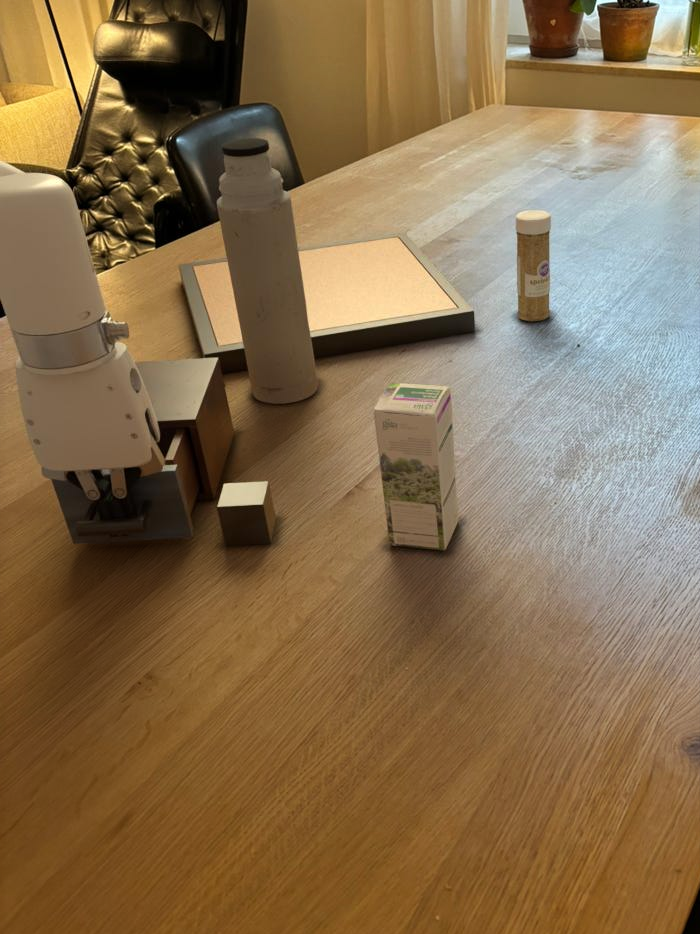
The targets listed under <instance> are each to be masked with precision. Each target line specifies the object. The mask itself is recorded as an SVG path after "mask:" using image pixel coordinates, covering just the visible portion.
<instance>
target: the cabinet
mask: <svg viewBox="0 0 700 934" xmlns="http://www.w3.org/2000/svg"><path fill="white" fill-rule="evenodd" d="M134 362H135V364H136V366H137V368H138V371H139V373H140V375H141V378H142V380H143V383H144V385H145V388H146V390H147V393H148V396H149V399H150V401H151V404H152V407H153V410H154V413H155V416H156V419H157V423H158V427H159V428H176V427H189V429H190V433H191V437H192V441H193V445H194V450H195V454H196V458H197V462H198V466H199V471H200V475H201V479H202V482H201V485H200V488H199V491H198V494H197V497H196V500H195V501H210V500H211V501H212V500H215V498H216V494H217V491H218V487H219V484H220V481H221V478H222V475H223V471H224V468H225V465H226V461H227V459H228V455H229V452H230V448H231V445H232V442H233V439H234V435H235V429H234V425H233V419H232V415H231V414H232V413H231V410H230V406H229V401H228V395H227V391H226V386H225V381H224V376H223V374H222V371H221V367H220V362H219V358H218V357H217V358H203V357H202V358H200V357H199V358H184V359H183V358H182V359H164V360H148V361H147V360H146V361H134ZM147 420H148V419H147Z"/></svg>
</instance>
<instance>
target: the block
mask: <svg viewBox="0 0 700 934" xmlns="http://www.w3.org/2000/svg"><path fill="white" fill-rule="evenodd" d="M271 490H272V489H271V485H270V482H269V481H268V480H264V481H263V480H262V481H245V482H228V483H226V482H225V483H223V484H222V488H221V492H220V495H219V497H218V502H217V505H216V512H217V517H218V519H219V520H218V521H219V525H220V528H221V533H222V537H223V540H224V546H225V547H236V546H250V545H252V546H254V545H268V544H269V545H270V544H272V541H273V536H274V530H275V526H276V522H277V521H276V520H277V516H276V512H275V506H274V501H273V495H272V491H271Z"/></svg>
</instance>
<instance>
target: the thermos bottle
mask: <svg viewBox="0 0 700 934" xmlns="http://www.w3.org/2000/svg"><path fill="white" fill-rule="evenodd" d="M269 150H270V144H269V141H268V140H267V139H265V138H258V137H244V138H237V139H232V140H229V141H226V142H224V143H222V144H221V151H222V154H223V157H224V158H223V164H224V170H225V172H223V174H222V175H220V176H219V178H218V182H219V187H218V190H219V192H220V194H221V196H220V197H218V198H217V200H216V208H217V214H218V219H219V225H220V229H221V234H222V238H223V246H224V250H225V255H226V258H227V261H228V266H229V272H230V277H231V282H232V287H233V293H234V298H235V303H236V308H237V314H238V319H239V324H240V330H241V335H242V340H243V345H244V351H245V356H246V361H247V366H248V370H247V372H248V377H249V382H250V387H251V391H252V395H253V397H254V398H255V399H256V400H257V401H260V402H263V403H266V404H271V405H273V404H274V405H275V404H276V405H282V404H283V405H285V404H291V403H296V402H299V401H300V402H301V401H302V400H305V399H308V398H309V397H311V396H313V395H314V394H315V393H316V392H317V390H318V387H319V382H318V376H317V368H316V362H315V361H316V360H315V358H314V354H313V348H312V341H311V335H310V329H309V323H308V316H307V308H306V300H305V293H304V286H303V279H302V272H301V265H300V259H299V252H298V248H299V246H298V237H297V232H296V225H295V224H296V223H295V218H294V212H293V211H294V210H293V206H292V204H293V203H292V198H291V194H290V193H289V192H288V191H286V190H284V188H283V183H284V179H283V178H282V175H281V173H280V172H279V170H278V169H275V168H273V167H272V163H271V157H270V154H269V152H268V151H269Z"/></svg>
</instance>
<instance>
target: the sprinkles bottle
mask: <svg viewBox="0 0 700 934" xmlns="http://www.w3.org/2000/svg"><path fill="white" fill-rule="evenodd" d="M551 228H552V217H551V213H549V212H548V211H545V210H539V209H538V210H536V209H535V210H534V209H533V210H532V209H531V210H524V211H521V212H519V213H517V214H516V215H515V234H516V251H517V252H516V291H517V317H518V318H519V319H520V320H522V321H526V322H539V321H544V320H546V319H548V318H549V317H550V315H551V310H550V292H551V269H550V252H551V251H550V233H551V230H552V229H551Z"/></svg>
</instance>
